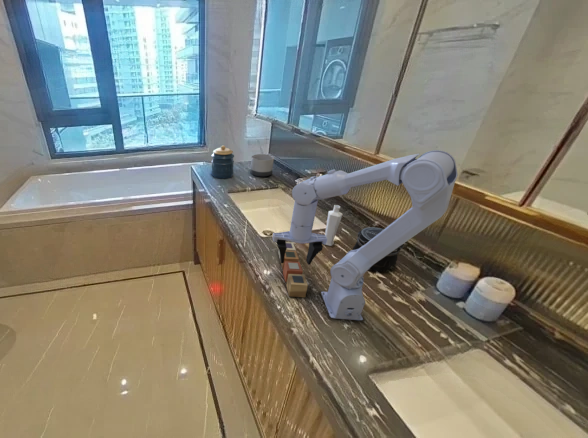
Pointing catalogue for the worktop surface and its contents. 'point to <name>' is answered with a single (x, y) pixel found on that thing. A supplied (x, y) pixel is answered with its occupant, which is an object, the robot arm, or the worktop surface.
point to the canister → (222, 163)
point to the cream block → (289, 247)
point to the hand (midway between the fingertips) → (294, 261)
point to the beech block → (290, 257)
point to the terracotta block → (291, 269)
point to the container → (385, 262)
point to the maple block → (296, 285)
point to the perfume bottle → (332, 224)
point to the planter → (262, 165)
